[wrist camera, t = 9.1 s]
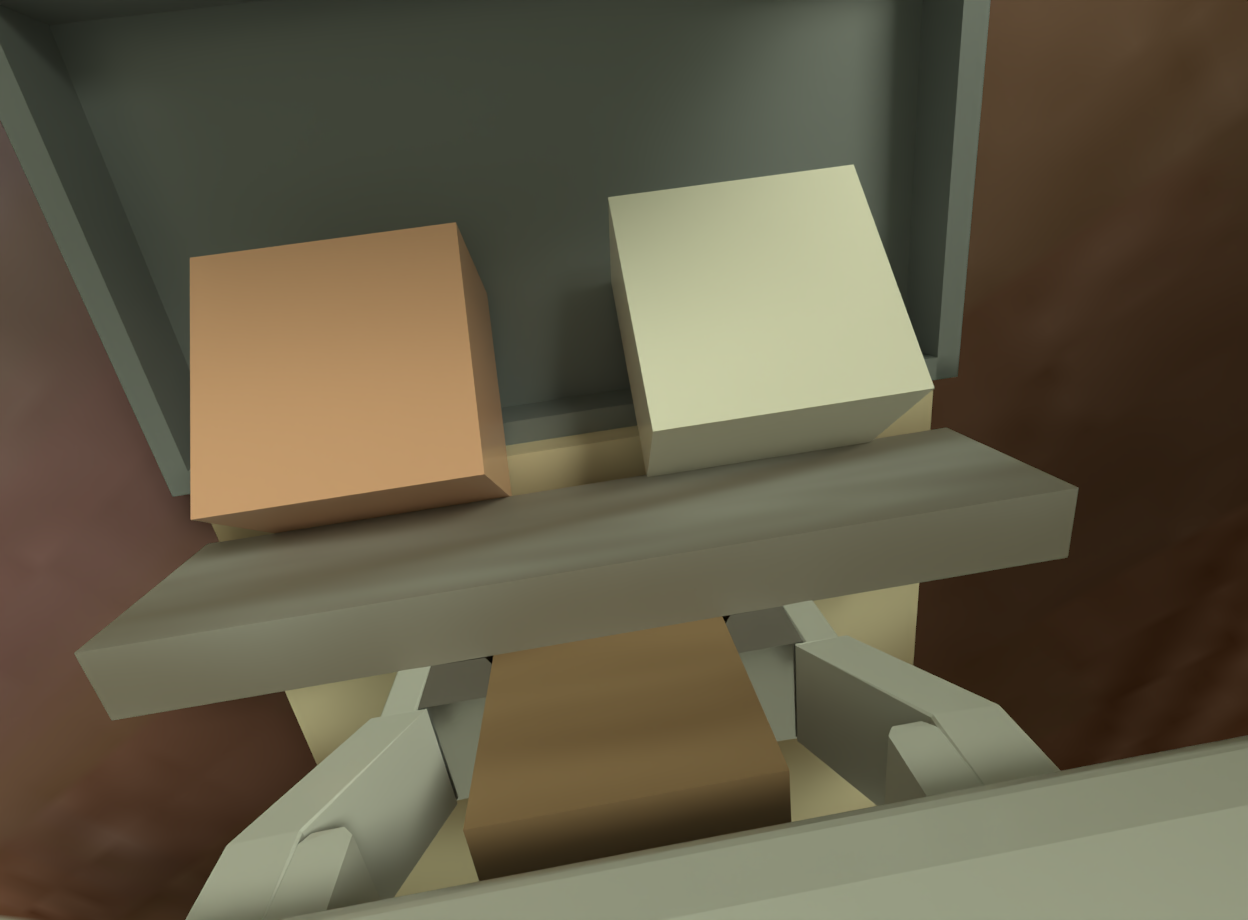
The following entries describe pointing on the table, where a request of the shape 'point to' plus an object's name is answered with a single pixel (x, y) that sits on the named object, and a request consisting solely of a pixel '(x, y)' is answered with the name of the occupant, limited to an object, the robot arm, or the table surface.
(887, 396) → the tile cream
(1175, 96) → the table surface
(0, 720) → the table surface
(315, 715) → the board
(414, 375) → the tile terracotta
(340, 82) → the tray
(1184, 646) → the table surface
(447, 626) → the scraper
